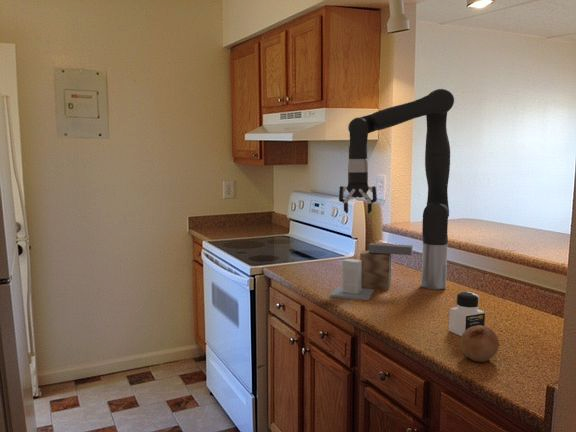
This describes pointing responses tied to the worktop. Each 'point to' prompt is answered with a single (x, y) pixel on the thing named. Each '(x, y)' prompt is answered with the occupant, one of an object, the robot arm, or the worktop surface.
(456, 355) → the worktop surface
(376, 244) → the bar
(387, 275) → the walnut block
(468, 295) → the medicine bottle
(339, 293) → the slate pad
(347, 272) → the skincare box
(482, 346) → the onion
